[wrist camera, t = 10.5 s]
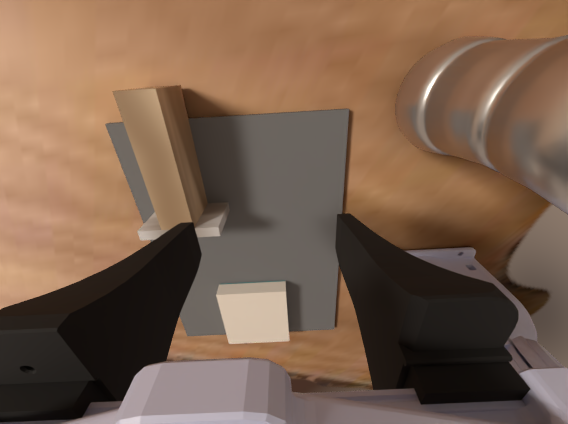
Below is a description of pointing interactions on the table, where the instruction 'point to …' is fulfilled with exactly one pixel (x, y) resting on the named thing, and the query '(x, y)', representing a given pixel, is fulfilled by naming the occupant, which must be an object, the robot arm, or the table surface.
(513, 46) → the plastic bottle
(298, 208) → the mat
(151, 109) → the tan upright post
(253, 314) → the tile
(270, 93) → the table surface
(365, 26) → the table surface
